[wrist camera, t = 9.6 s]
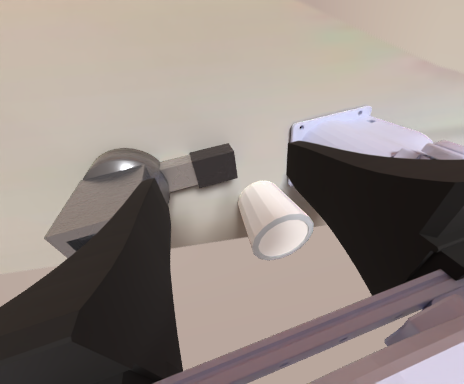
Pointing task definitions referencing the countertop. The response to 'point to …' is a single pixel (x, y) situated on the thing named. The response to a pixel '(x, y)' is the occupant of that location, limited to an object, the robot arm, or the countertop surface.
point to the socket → (93, 207)
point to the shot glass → (273, 221)
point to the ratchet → (172, 167)
